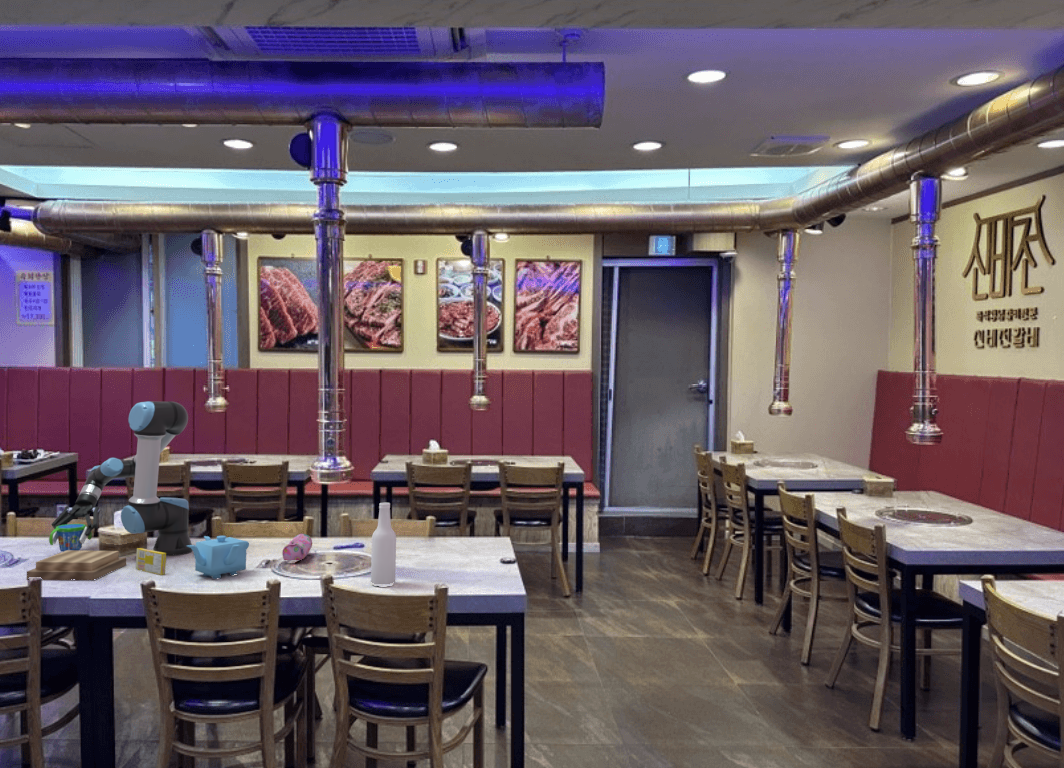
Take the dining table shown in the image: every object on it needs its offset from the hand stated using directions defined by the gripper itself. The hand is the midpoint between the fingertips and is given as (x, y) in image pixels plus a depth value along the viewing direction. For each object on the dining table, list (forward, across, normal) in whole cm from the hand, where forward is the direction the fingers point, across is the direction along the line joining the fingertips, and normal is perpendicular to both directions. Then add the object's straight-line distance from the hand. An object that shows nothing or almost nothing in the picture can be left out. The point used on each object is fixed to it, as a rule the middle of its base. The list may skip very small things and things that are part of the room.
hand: (67, 541), depth 314 cm
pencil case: (+2, -91, -10) cm, 92 cm away
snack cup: (+1, 0, -5) cm, 5 cm away
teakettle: (+22, -69, +11) cm, 73 cm away
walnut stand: (+20, -16, +10) cm, 28 cm away
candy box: (+19, -42, +8) cm, 47 cm away
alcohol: (+31, -133, +18) cm, 138 cm away
